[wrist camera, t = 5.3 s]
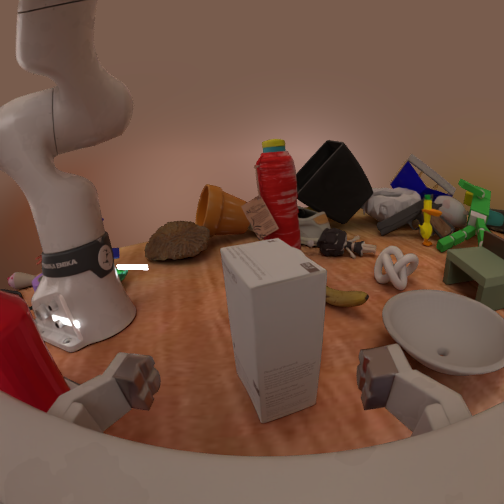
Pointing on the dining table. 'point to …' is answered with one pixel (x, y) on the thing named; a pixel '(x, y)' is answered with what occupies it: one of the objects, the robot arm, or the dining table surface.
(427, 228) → the toy figure
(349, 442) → the dining table surface
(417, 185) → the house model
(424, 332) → the dish
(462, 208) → the toy
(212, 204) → the flower pot
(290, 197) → the water bottle
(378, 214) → the bowl
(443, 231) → the handgun
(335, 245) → the figurine
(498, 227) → the ballet flat
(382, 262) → the knot
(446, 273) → the shelf
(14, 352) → the bottle
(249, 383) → the cosmetic box
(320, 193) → the flower pot
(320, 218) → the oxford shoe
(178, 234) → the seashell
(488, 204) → the toy
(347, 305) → the banana
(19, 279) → the ice cream cone
